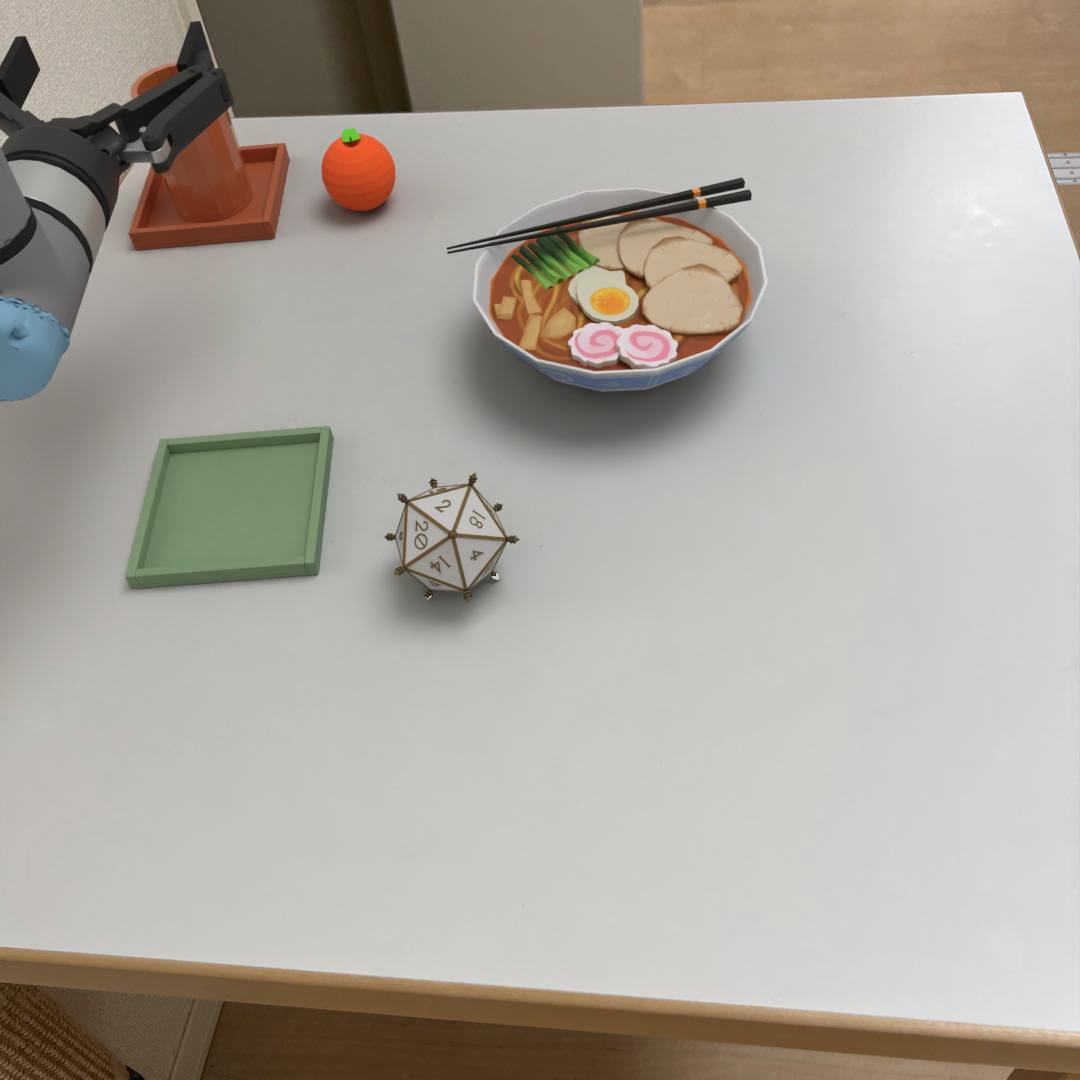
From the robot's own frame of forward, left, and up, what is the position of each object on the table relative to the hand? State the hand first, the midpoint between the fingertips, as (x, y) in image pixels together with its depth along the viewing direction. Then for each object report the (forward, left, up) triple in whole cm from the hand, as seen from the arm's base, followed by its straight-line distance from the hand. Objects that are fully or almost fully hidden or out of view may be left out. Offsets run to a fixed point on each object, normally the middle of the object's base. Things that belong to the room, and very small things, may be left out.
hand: (114, 45), depth 83 cm
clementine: (+12, +11, -21) cm, 27 cm away
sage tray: (+15, -28, -21) cm, 38 cm away
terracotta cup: (-2, +9, -20) cm, 22 cm away
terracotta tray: (-3, +9, -21) cm, 23 cm away
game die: (+33, -31, -21) cm, 50 cm away
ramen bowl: (+40, -6, -21) cm, 46 cm away
